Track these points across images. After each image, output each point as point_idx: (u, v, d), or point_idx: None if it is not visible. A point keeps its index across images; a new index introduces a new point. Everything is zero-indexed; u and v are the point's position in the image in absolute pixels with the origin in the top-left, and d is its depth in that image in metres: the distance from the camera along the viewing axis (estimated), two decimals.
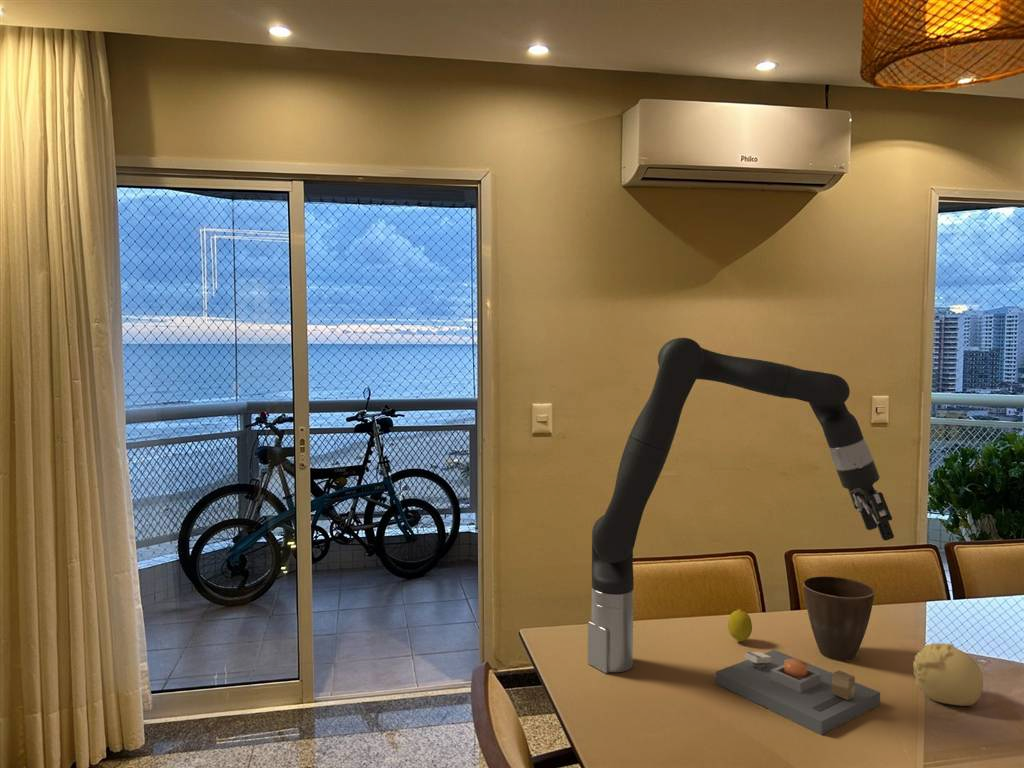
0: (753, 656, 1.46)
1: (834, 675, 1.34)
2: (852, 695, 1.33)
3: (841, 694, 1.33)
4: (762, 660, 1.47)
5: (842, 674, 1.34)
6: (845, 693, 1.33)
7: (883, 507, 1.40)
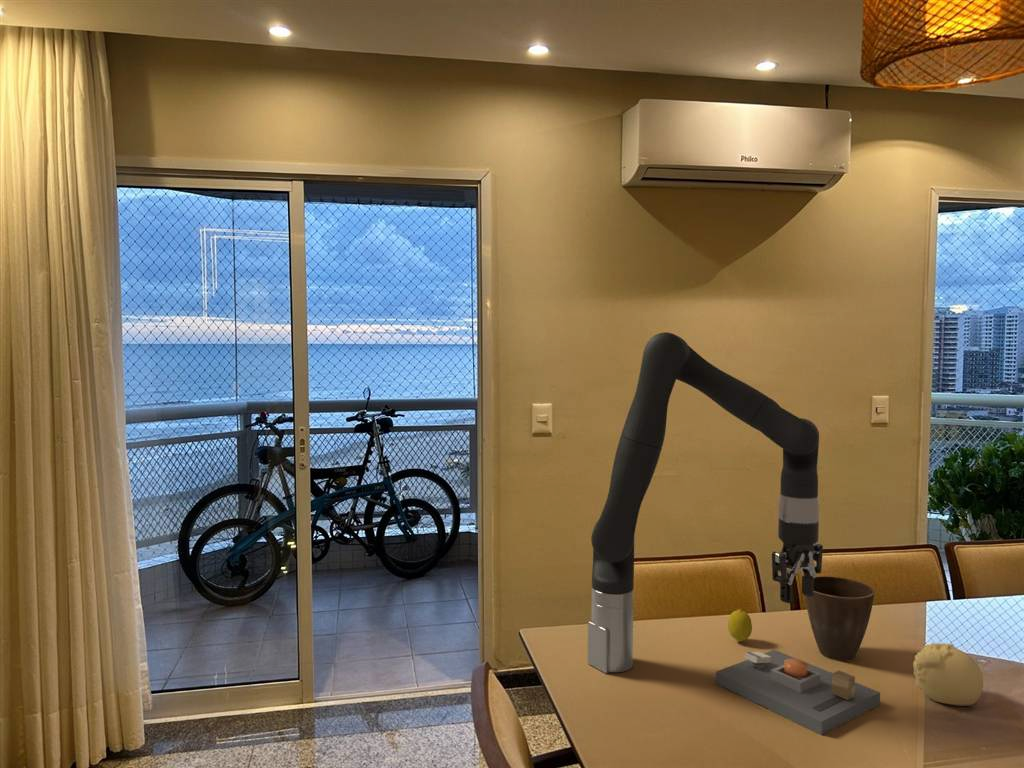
0: (753, 656, 1.46)
1: (834, 675, 1.34)
2: (852, 695, 1.33)
3: (841, 694, 1.33)
4: (762, 660, 1.47)
5: (842, 674, 1.34)
6: (845, 693, 1.33)
7: (779, 568, 1.36)
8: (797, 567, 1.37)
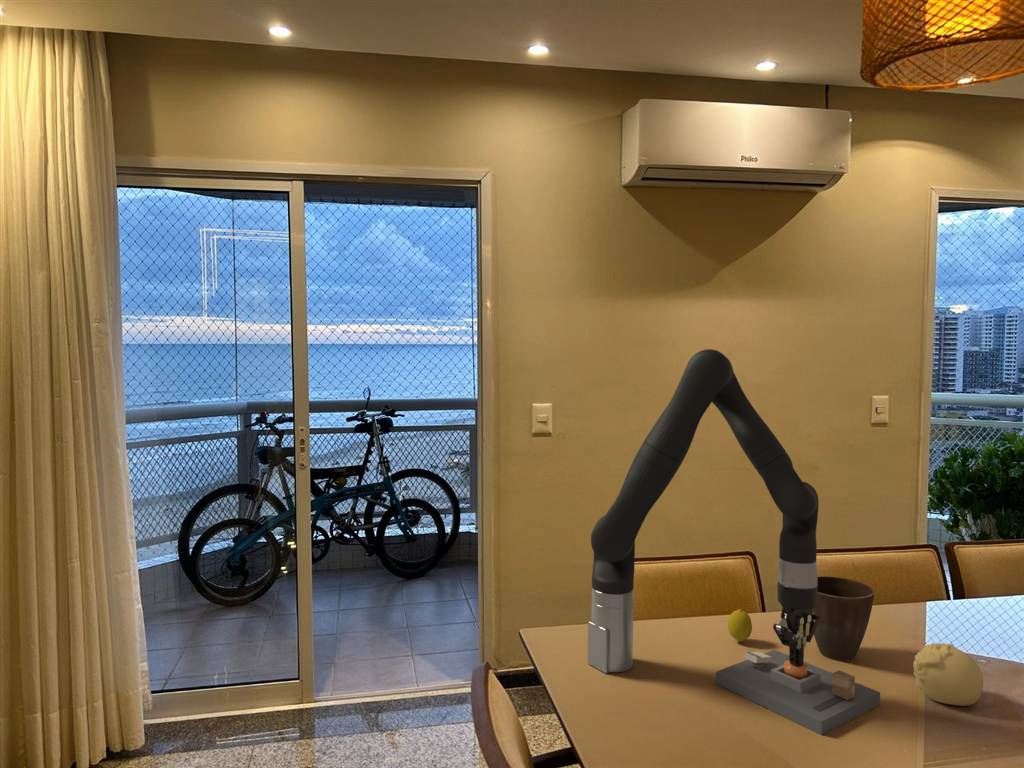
0: (753, 656, 1.46)
1: (834, 675, 1.34)
2: (852, 695, 1.33)
3: (841, 694, 1.33)
4: (762, 660, 1.47)
5: (842, 674, 1.34)
6: (845, 693, 1.33)
7: (784, 638, 1.38)
8: (800, 632, 1.38)
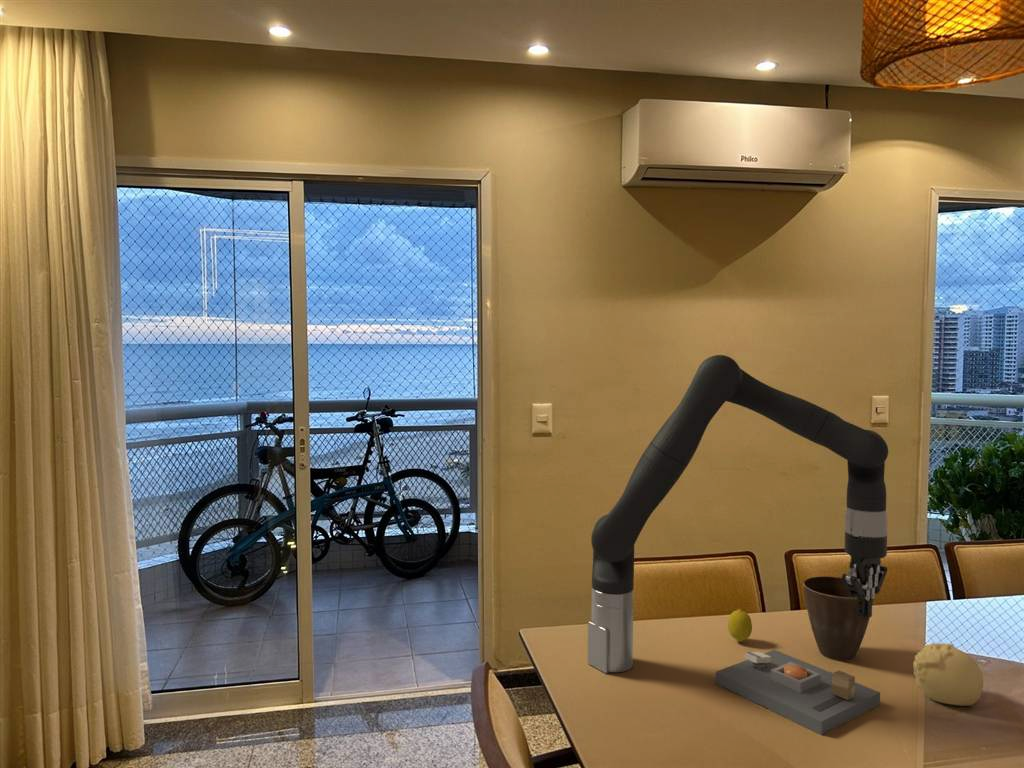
0: (753, 656, 1.46)
1: (834, 675, 1.34)
2: (852, 695, 1.33)
3: (841, 694, 1.33)
4: (762, 660, 1.47)
5: (842, 674, 1.34)
6: (845, 693, 1.33)
7: (853, 589, 1.35)
8: (870, 583, 1.35)
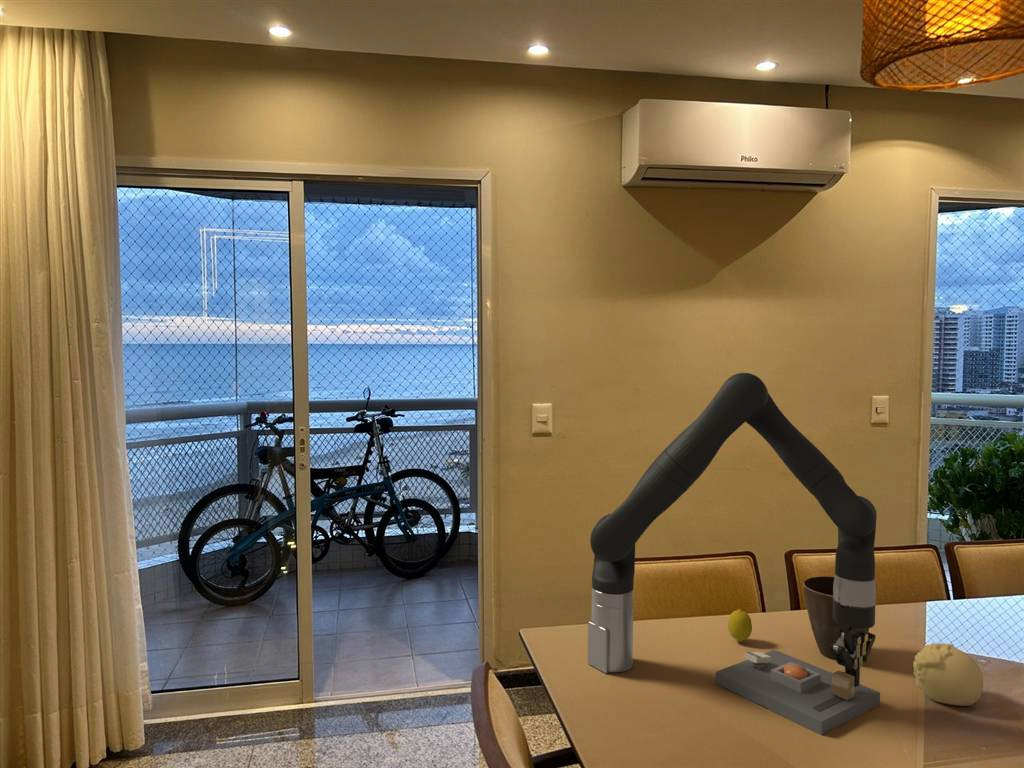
0: (753, 656, 1.46)
1: (834, 675, 1.34)
2: (852, 695, 1.33)
3: (841, 694, 1.33)
4: (762, 660, 1.47)
5: (842, 674, 1.34)
6: (845, 693, 1.33)
7: (841, 658, 1.33)
8: (857, 652, 1.34)
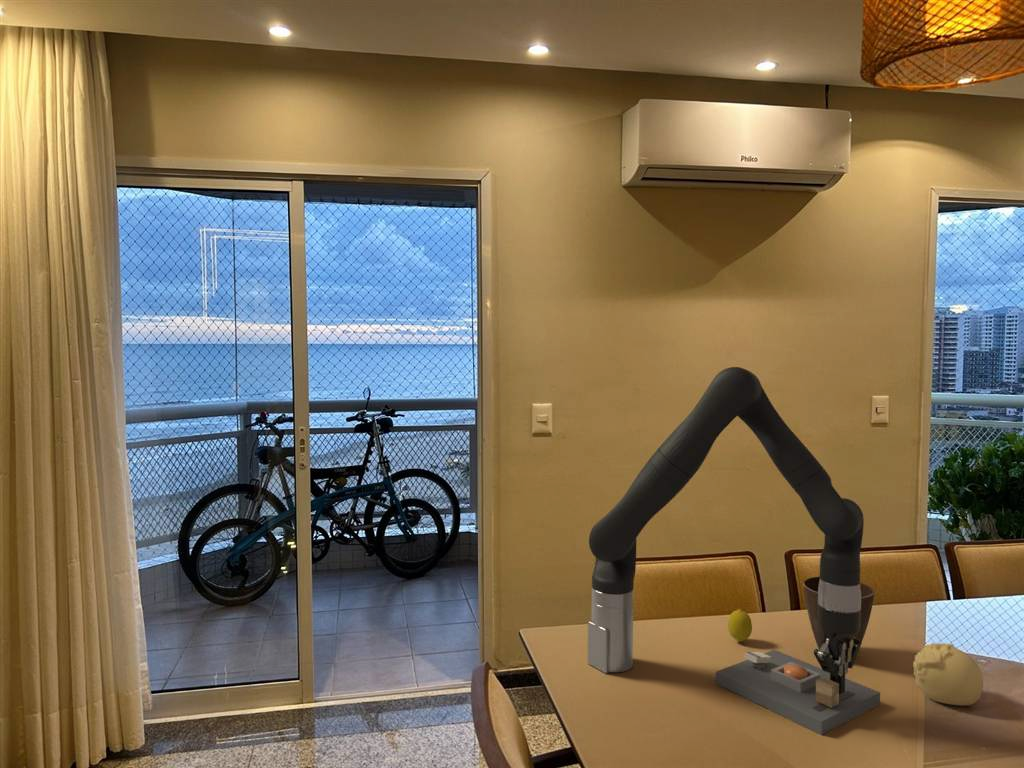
0: (753, 656, 1.46)
1: (818, 682, 1.31)
2: (836, 703, 1.30)
3: (825, 702, 1.30)
4: (762, 660, 1.47)
5: (826, 681, 1.31)
6: (829, 701, 1.30)
7: (825, 665, 1.30)
8: (842, 658, 1.31)
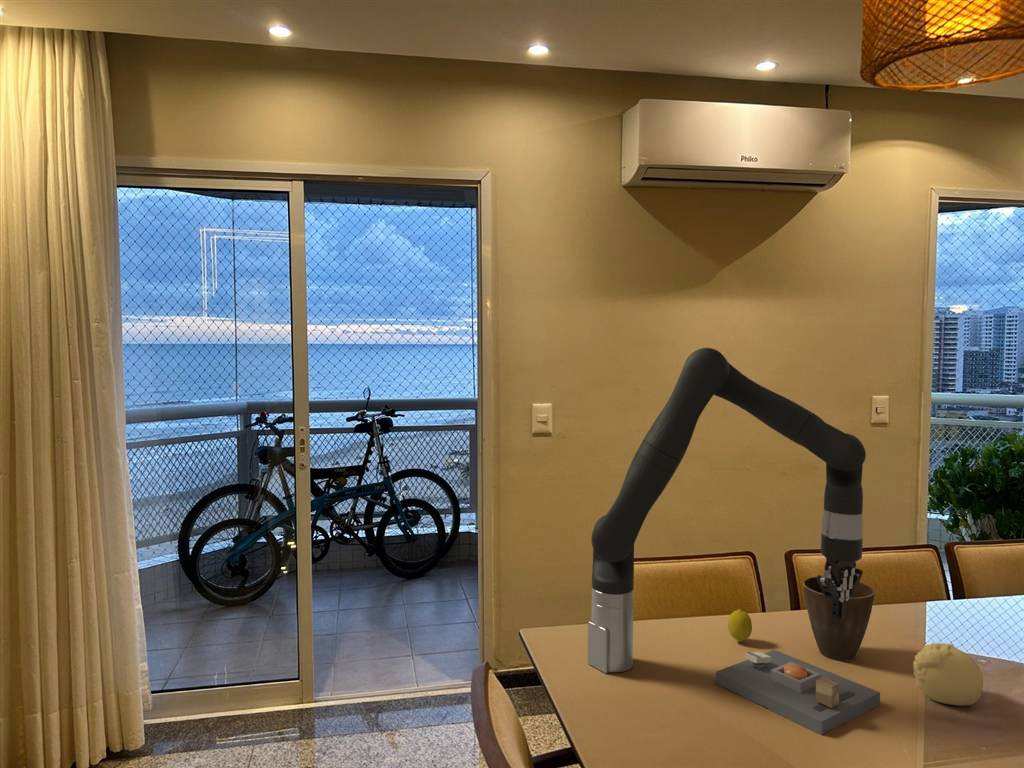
0: (753, 656, 1.46)
1: (818, 682, 1.31)
2: (836, 703, 1.30)
3: (825, 702, 1.30)
4: (762, 660, 1.47)
5: (826, 681, 1.31)
6: (829, 701, 1.30)
7: (828, 590, 1.36)
8: (844, 585, 1.37)
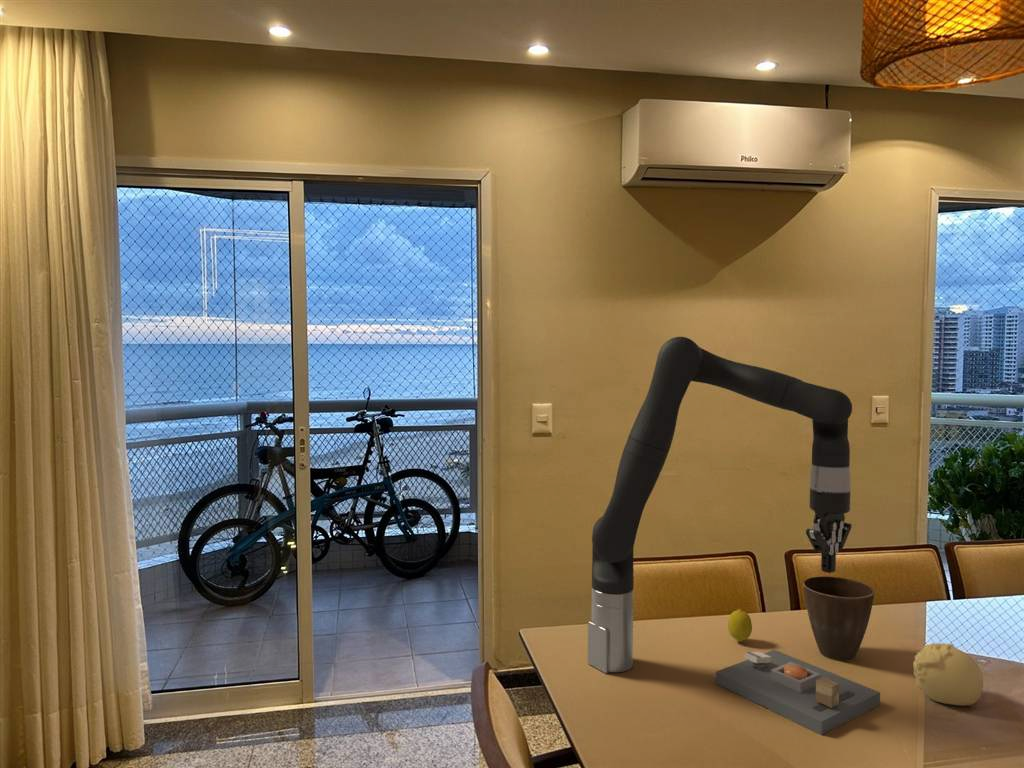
0: (753, 656, 1.46)
1: (818, 682, 1.31)
2: (836, 703, 1.30)
3: (825, 702, 1.30)
4: (762, 660, 1.47)
5: (826, 681, 1.31)
6: (829, 701, 1.30)
7: (817, 543, 1.38)
8: (833, 537, 1.38)
